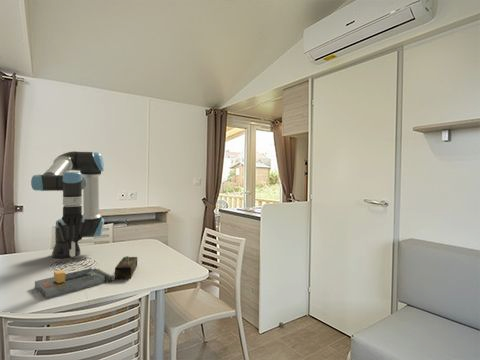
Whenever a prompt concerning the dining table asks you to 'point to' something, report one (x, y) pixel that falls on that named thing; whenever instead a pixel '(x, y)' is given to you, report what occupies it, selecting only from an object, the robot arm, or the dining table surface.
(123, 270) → the beverage carton
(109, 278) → the grey rounded bar
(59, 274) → the toggle
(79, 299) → the dining table surface
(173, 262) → the dining table surface
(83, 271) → the breaker panel
